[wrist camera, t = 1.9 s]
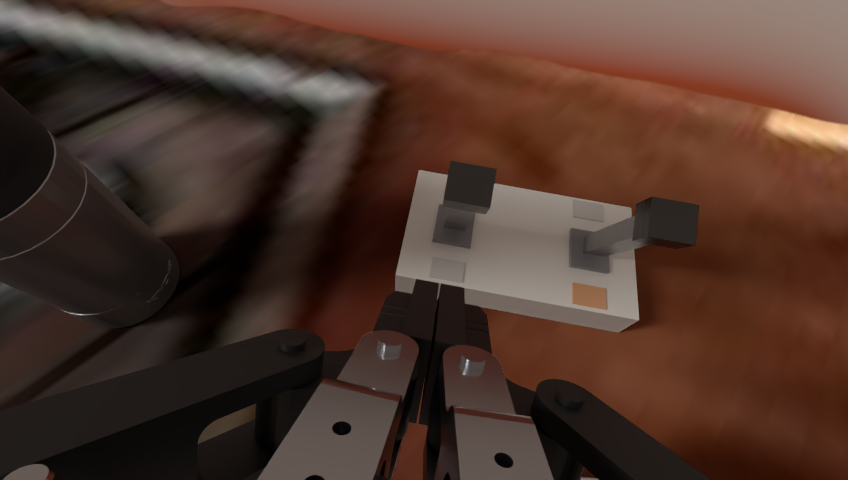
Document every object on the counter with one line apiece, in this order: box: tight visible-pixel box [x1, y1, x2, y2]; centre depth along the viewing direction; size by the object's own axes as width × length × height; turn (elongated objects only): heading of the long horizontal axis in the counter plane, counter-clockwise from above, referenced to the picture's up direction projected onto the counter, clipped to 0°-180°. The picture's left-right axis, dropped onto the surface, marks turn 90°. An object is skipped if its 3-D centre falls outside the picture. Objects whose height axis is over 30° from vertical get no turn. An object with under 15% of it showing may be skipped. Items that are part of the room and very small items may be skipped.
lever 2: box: [583, 197, 699, 257], centre depth 33 cm, size 3×3×12 cm
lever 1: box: [442, 161, 497, 231], centre depth 33 cm, size 3×3×12 cm
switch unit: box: [395, 170, 639, 333], centre depth 42 cm, size 22×12×4 cm, turn 80°
